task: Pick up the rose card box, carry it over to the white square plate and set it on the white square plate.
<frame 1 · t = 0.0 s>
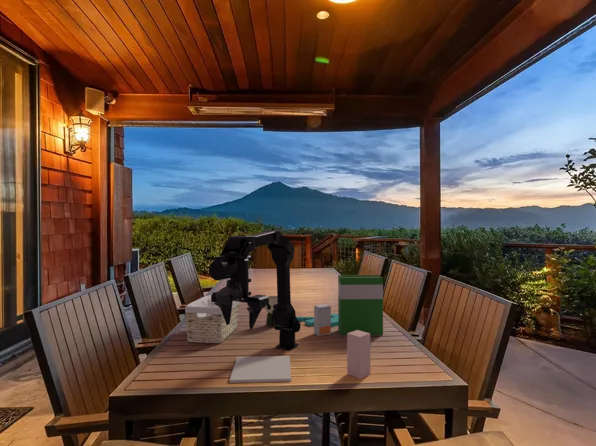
hand: (239, 326, 109), 15 cm above the table, tool pointing down, fingers open, 9 cm apart
hardback book: (360, 332, 151), on the table
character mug: (273, 326, 161), on the table
rose card box: (358, 373, 109), on the table
alien figure: (322, 322, 169), on the table
white square plate: (262, 369, 113), on the table
skincare box: (322, 334, 149), on the table
storage basket: (214, 335, 148), on the table
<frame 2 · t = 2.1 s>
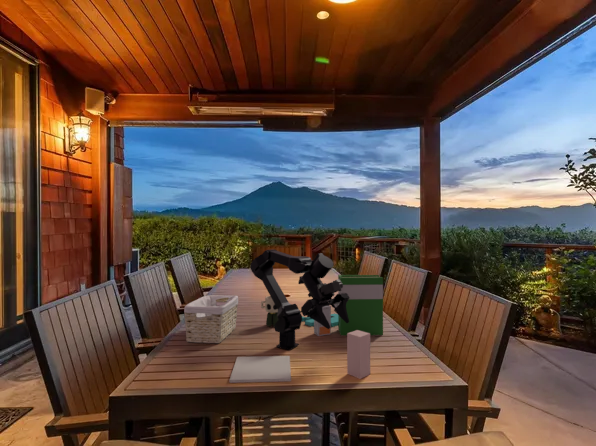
hand: (339, 325, 115), 13 cm above the table, tool tilted 45°, fingers open, 9 cm apart
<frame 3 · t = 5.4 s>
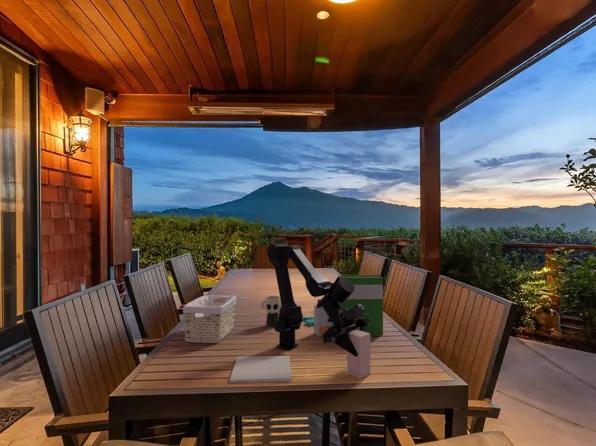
hand: (362, 353, 108), 7 cm above the table, tool tilted 45°, fingers closed on rose card box, 5 cm apart
rose card box: (358, 373, 109), on the table, touching gripper
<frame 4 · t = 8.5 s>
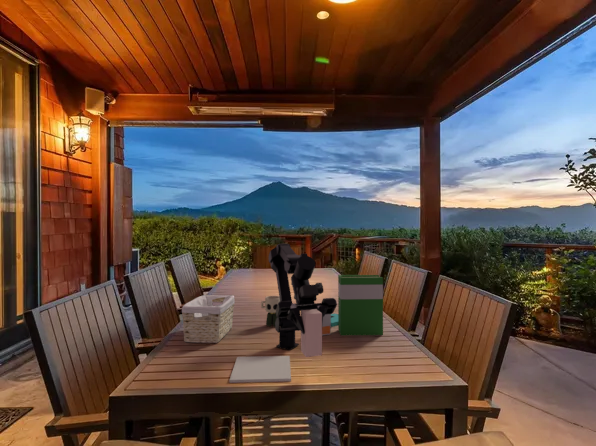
hand: (312, 332, 105), 14 cm above the table, tool tilted 45°, fingers closed on rose card box, 5 cm apart
rose card box: (311, 353, 107), point 7 cm above the table, touching gripper
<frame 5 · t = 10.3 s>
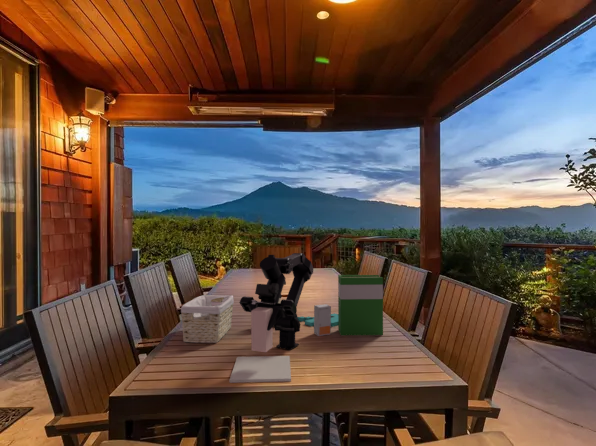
hand: (260, 329, 112), 13 cm above the table, tool tilted 45°, fingers closed on rose card box, 5 cm apart
rose card box: (262, 348, 113), point 7 cm above the table, touching gripper
when the fingers open (9 cm above the table, at t = 12.0 s): rose card box drops 1 cm, resting on white square plate.
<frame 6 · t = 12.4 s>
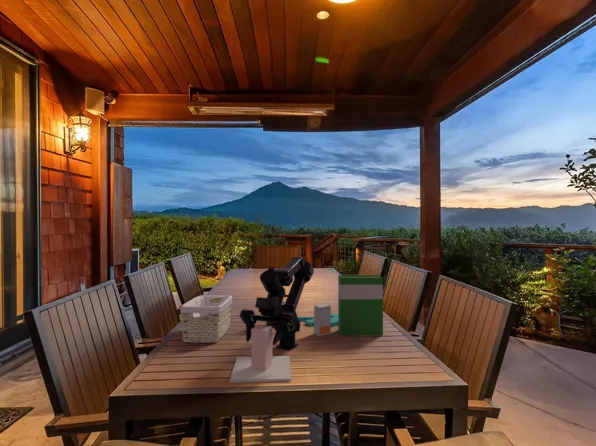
hand: (260, 342, 112), 9 cm above the table, tool tilted 45°, fingers open, 9 cm apart
rose card box: (262, 366, 113), point 1 cm above the table, touching white square plate
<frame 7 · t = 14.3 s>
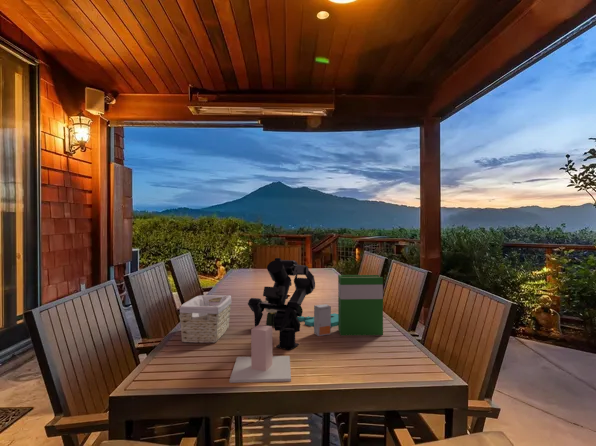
hand: (268, 329, 118), 11 cm above the table, tool tilted 45°, fingers open, 9 cm apart
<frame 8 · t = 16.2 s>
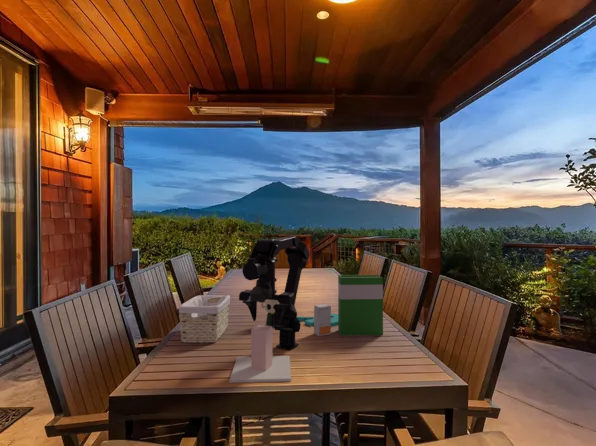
hand: (266, 322, 121), 13 cm above the table, tool pointing down, fingers open, 9 cm apart
at the end: rose card box inside the target area (0.1 cm from its centre), point 0.8 cm above the table; rose card box tilted 0°; the gripper is holding nothing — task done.
